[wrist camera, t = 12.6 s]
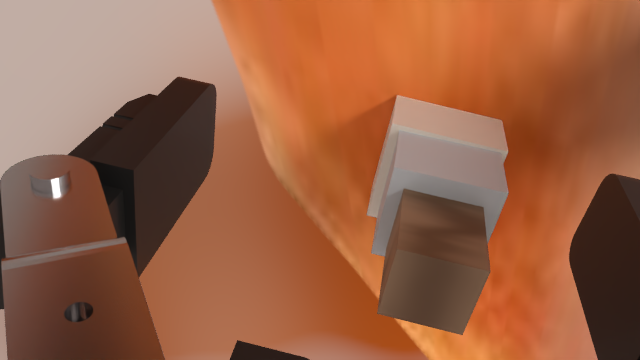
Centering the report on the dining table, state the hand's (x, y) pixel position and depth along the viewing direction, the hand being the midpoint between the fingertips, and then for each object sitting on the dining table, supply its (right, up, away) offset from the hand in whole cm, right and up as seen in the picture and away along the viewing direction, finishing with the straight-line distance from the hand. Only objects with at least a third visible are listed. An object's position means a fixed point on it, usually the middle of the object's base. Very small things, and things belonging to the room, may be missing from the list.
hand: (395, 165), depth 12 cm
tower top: (+7, -1, +28) cm, 29 cm away
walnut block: (+6, -3, +24) cm, 25 cm away
